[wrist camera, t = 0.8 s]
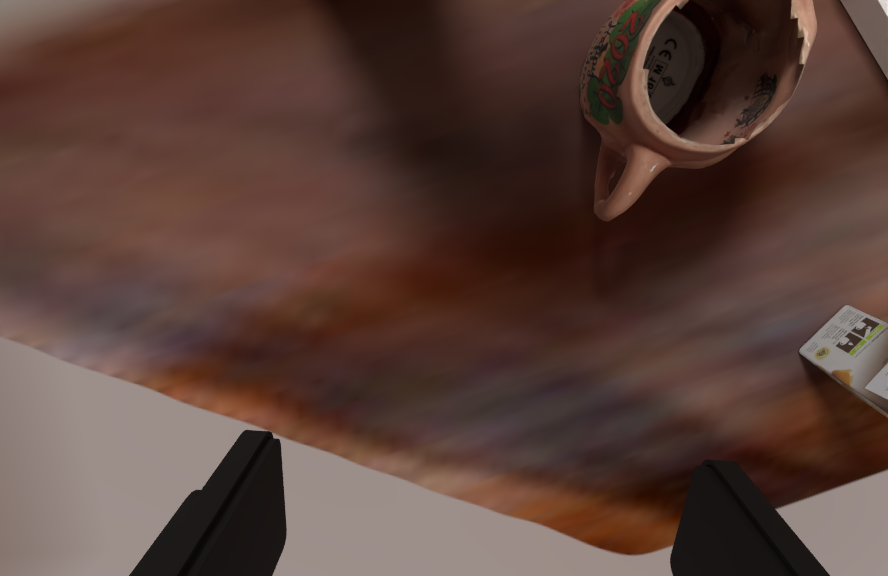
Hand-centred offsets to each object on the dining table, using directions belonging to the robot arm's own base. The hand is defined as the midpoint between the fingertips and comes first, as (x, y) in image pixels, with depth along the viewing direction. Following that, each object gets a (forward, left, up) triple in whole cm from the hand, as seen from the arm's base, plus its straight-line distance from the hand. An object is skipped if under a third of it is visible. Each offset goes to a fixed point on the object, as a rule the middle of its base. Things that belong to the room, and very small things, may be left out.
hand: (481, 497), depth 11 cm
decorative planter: (+1, +18, -35) cm, 39 cm away
